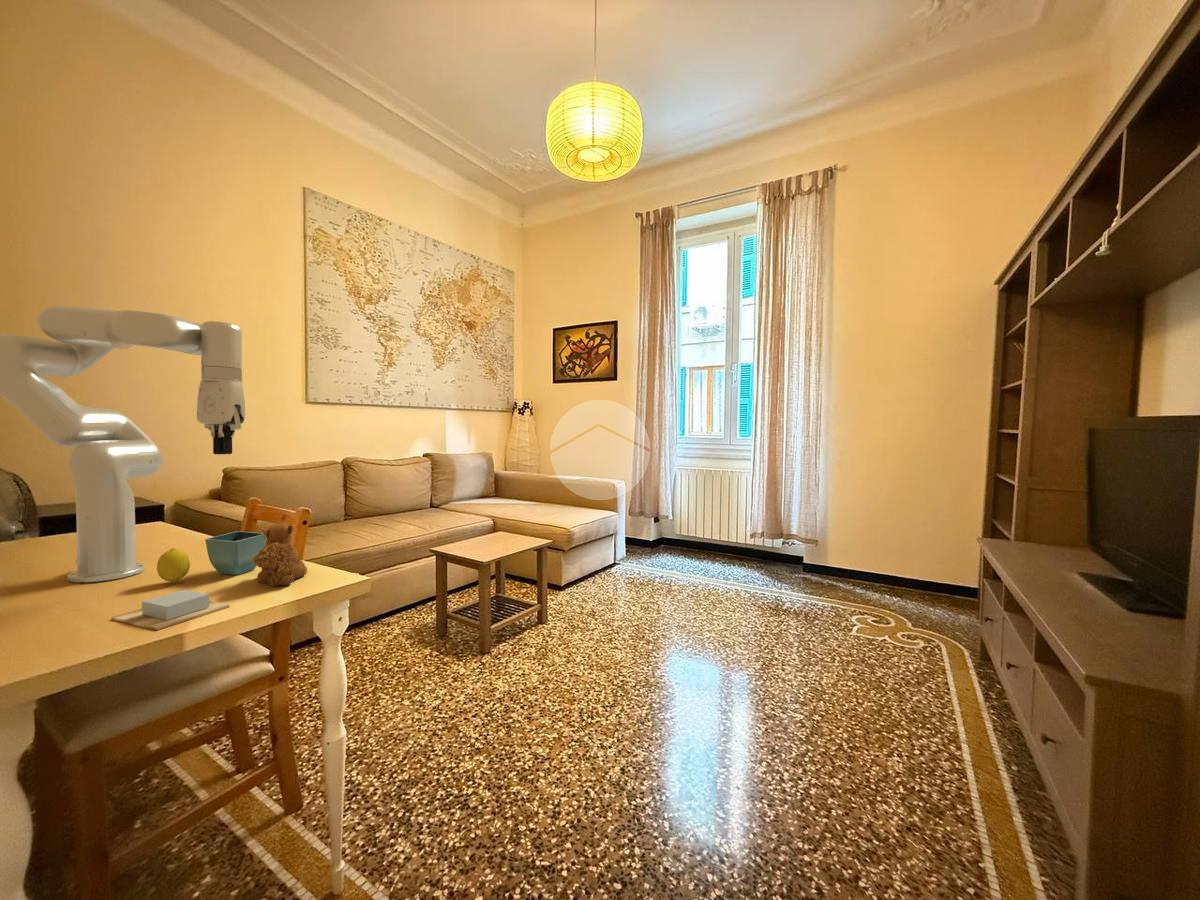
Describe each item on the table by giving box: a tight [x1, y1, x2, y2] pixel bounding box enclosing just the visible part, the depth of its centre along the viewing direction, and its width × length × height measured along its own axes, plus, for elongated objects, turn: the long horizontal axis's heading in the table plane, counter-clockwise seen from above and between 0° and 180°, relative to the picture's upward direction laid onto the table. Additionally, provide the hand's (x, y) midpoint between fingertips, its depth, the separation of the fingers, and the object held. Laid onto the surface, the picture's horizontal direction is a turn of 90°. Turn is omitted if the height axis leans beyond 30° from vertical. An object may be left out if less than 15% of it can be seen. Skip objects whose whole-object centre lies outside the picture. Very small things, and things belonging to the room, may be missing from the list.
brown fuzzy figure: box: [252, 523, 308, 587], centre depth 111 cm, size 10×14×13 cm
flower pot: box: [204, 530, 267, 576], centre depth 117 cm, size 9×9×9 cm
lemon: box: [156, 547, 191, 584], centre depth 108 cm, size 6×6×8 cm
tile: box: [141, 589, 210, 620], centre depth 91 cm, size 3×7×7 cm
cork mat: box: [111, 600, 230, 631], centre depth 91 cm, size 13×12×1 cm
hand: (222, 453), depth 113 cm, fingers closed
